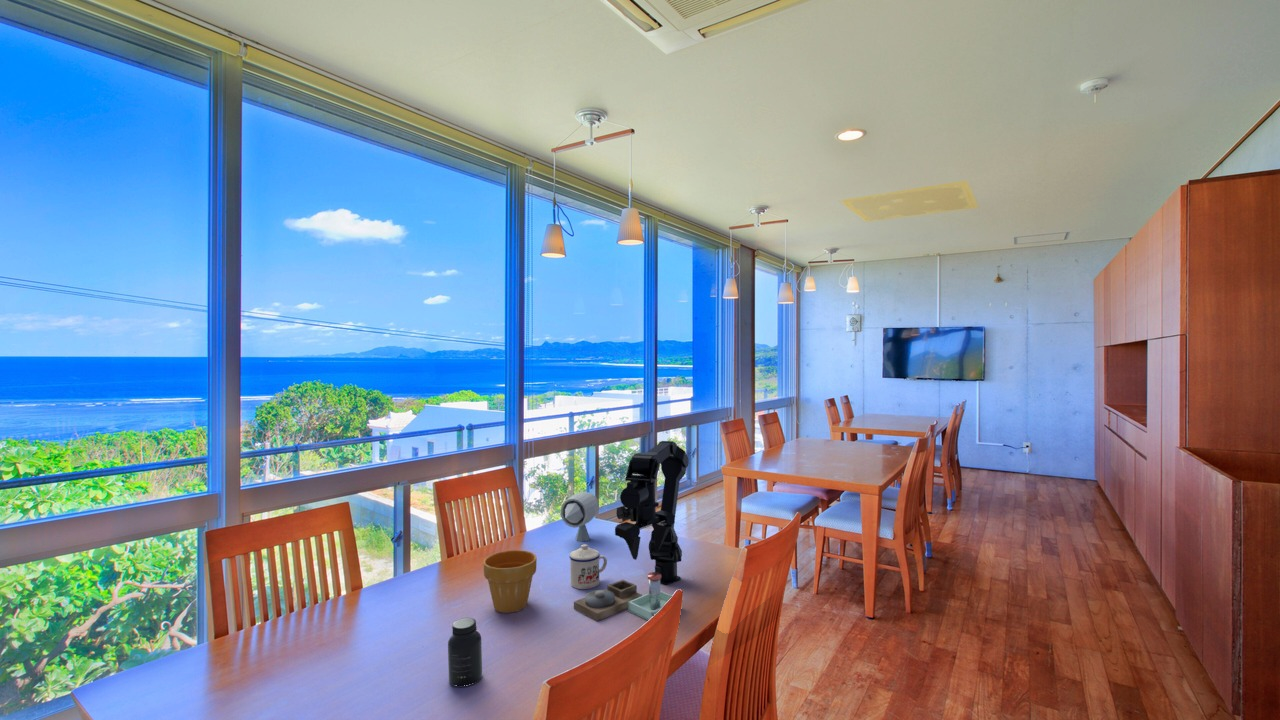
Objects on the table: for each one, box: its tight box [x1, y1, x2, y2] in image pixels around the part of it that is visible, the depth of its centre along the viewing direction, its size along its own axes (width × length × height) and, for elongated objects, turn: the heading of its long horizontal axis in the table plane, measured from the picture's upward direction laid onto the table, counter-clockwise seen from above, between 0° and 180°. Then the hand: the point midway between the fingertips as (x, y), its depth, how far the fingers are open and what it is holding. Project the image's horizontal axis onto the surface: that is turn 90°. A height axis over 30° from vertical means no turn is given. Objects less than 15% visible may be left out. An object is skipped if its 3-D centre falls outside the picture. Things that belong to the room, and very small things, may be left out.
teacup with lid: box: [569, 543, 608, 590], centre depth 167 cm, size 12×9×12 cm
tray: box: [627, 590, 673, 621], centre depth 148 cm, size 11×9×2 cm
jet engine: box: [560, 491, 600, 543], centre depth 205 cm, size 15×20×18 cm
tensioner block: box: [573, 579, 643, 622], centre depth 151 cm, size 16×10×4 cm, turn 134°
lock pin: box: [647, 571, 661, 610], centre depth 148 cm, size 4×4×9 cm
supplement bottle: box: [447, 617, 483, 687], centre depth 117 cm, size 7×7×12 cm
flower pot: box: [483, 549, 537, 614], centre depth 152 cm, size 14×14×13 cm
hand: (646, 554), depth 154 cm, fingers open, 9 cm apart
